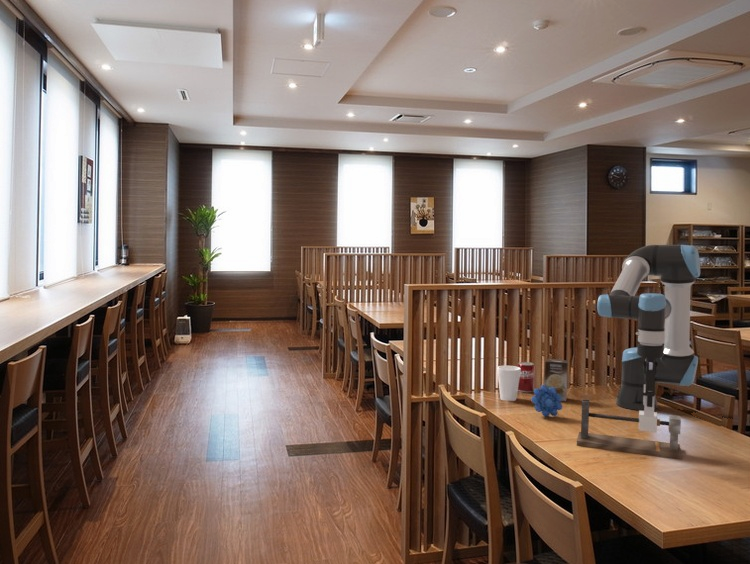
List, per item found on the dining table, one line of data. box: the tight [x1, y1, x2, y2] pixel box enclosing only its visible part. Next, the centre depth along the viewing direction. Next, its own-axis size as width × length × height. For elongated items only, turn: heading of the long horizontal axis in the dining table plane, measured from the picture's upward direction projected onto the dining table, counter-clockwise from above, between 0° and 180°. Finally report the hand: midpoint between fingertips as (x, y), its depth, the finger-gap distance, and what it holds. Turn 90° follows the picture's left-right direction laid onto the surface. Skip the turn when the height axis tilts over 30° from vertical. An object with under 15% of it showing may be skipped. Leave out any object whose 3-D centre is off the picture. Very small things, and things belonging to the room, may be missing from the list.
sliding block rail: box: [576, 398, 683, 460], centre depth 190 cm, size 30×10×14 cm, turn 67°
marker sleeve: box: [638, 410, 658, 433], centre depth 188 cm, size 5×5×5 cm
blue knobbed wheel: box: [530, 384, 563, 418], centre depth 222 cm, size 12×7×12 cm, turn 91°
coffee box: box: [543, 358, 569, 402], centre depth 249 cm, size 9×6×16 cm
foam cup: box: [496, 365, 521, 402], centre depth 248 cm, size 10×9×13 cm
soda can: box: [516, 361, 535, 393], centre depth 262 cm, size 7×7×12 cm
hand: (648, 410), depth 188 cm, fingers open, 13 cm apart
